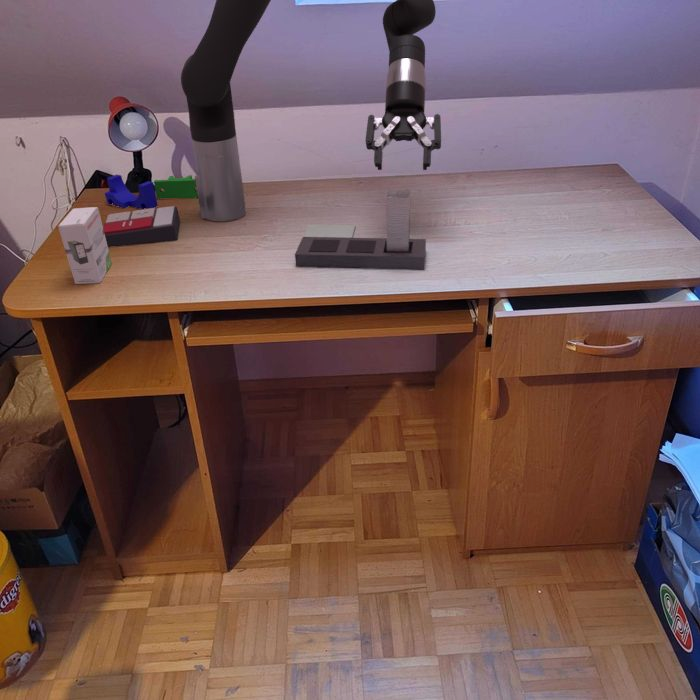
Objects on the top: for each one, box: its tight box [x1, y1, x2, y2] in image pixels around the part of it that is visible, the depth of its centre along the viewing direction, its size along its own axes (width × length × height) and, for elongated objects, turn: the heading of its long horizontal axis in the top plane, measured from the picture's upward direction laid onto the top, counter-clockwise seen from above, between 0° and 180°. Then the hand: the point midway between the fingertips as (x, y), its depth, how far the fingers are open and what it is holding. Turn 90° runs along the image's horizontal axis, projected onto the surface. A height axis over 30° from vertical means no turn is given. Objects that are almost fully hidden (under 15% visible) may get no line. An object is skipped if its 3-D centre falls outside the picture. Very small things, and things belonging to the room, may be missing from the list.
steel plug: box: [385, 189, 411, 253], centre depth 123 cm, size 4×4×13 cm
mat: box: [302, 224, 356, 238], centre depth 137 cm, size 10×10×1 cm
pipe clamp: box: [153, 174, 198, 200], centre depth 159 cm, size 11×4×5 cm, turn 89°
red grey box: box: [103, 205, 181, 248], centre depth 141 cm, size 11×4×15 cm
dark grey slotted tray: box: [294, 236, 427, 270], centre depth 127 cm, size 24×8×3 cm, turn 83°
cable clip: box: [104, 174, 159, 210], centre depth 155 cm, size 12×4×6 cm, turn 58°
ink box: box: [57, 206, 113, 285], centre depth 124 cm, size 9×5×12 cm, turn 2°
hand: (402, 168), depth 126 cm, fingers open, 8 cm apart
